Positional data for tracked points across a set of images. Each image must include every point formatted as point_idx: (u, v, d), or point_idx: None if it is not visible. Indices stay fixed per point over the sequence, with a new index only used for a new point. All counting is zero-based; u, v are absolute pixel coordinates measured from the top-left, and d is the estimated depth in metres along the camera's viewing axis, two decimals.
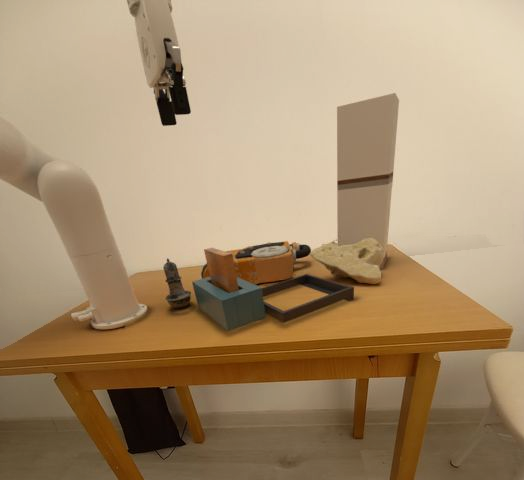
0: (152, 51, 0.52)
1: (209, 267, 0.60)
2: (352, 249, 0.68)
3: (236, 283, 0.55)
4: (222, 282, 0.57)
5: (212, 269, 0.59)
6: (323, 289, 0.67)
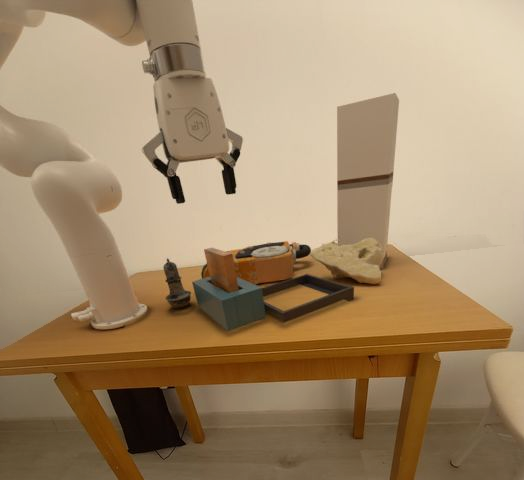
0: (220, 130, 0.47)
1: (209, 267, 0.60)
2: (352, 249, 0.68)
3: (236, 283, 0.55)
4: (222, 282, 0.57)
5: (212, 269, 0.59)
6: (323, 289, 0.67)
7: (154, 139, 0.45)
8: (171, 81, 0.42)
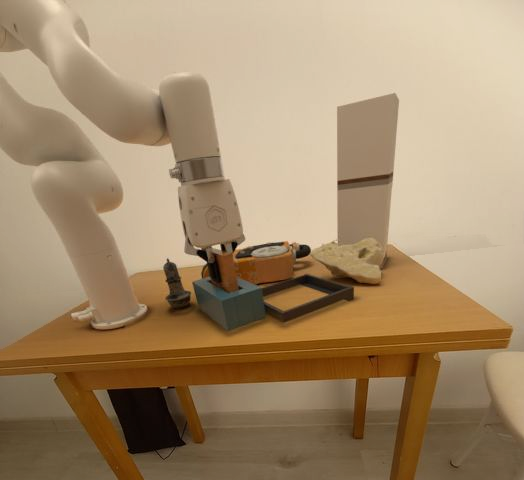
0: (236, 220, 0.53)
1: None
2: (352, 249, 0.68)
3: (236, 283, 0.55)
4: (222, 282, 0.57)
5: None
6: (323, 289, 0.67)
7: (188, 239, 0.52)
8: (194, 186, 0.48)
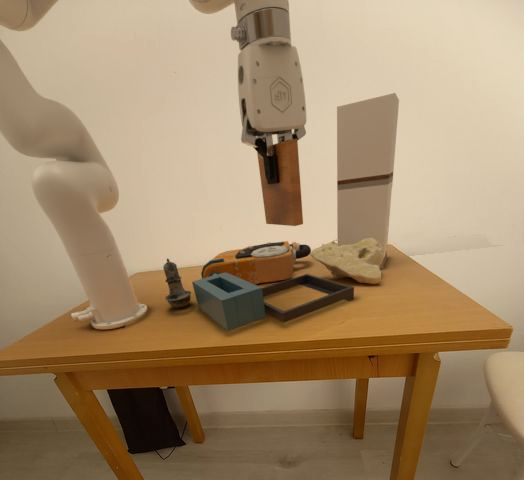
0: (300, 102, 0.46)
1: (262, 171, 0.54)
2: (352, 249, 0.68)
3: (298, 178, 0.49)
4: (279, 182, 0.51)
5: None
6: (323, 289, 0.67)
7: (247, 123, 0.46)
8: (260, 48, 0.41)
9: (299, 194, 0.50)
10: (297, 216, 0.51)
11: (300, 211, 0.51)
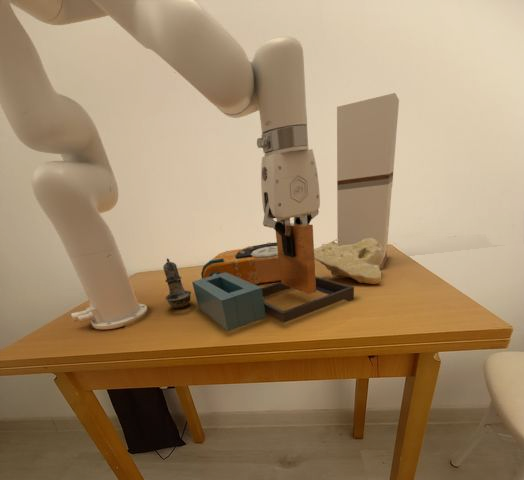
0: (315, 192, 0.53)
1: (279, 242, 0.61)
2: (352, 249, 0.68)
3: (313, 255, 0.55)
4: (295, 256, 0.57)
5: None
6: (323, 289, 0.67)
7: (269, 211, 0.52)
8: (282, 155, 0.48)
9: (313, 268, 0.56)
10: (311, 286, 0.58)
11: (314, 281, 0.58)
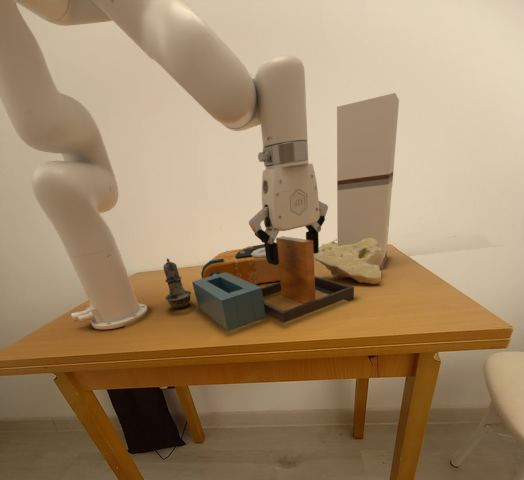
0: (314, 204, 0.54)
1: (280, 255, 0.62)
2: (352, 249, 0.68)
3: (313, 270, 0.57)
4: (296, 269, 0.59)
5: (284, 257, 0.61)
6: (323, 289, 0.67)
7: (261, 214, 0.52)
8: (283, 169, 0.49)
9: (313, 282, 0.58)
10: (311, 299, 0.59)
11: (313, 294, 0.59)
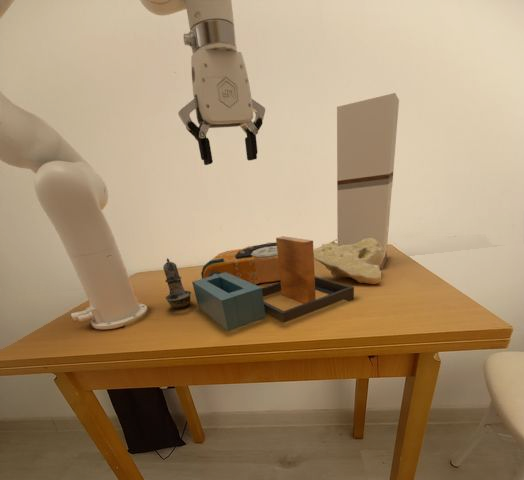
0: (246, 99, 0.54)
1: (280, 255, 0.62)
2: (352, 249, 0.68)
3: (313, 270, 0.57)
4: (296, 269, 0.59)
5: (284, 257, 0.61)
6: (323, 289, 0.67)
7: (189, 103, 0.52)
8: (208, 52, 0.49)
9: (313, 282, 0.58)
10: (311, 299, 0.59)
11: (313, 294, 0.59)
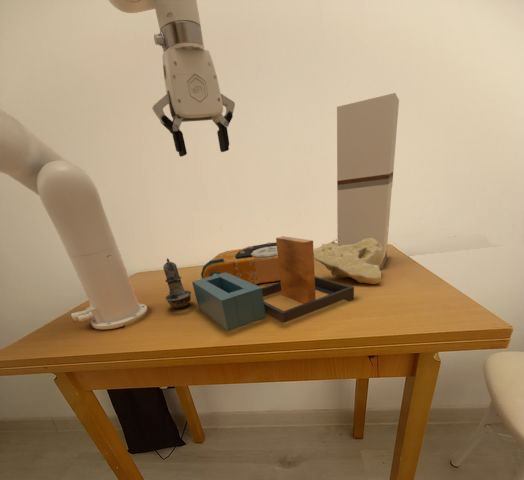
0: (216, 94, 0.58)
1: (280, 255, 0.62)
2: (352, 249, 0.68)
3: (313, 270, 0.57)
4: (296, 269, 0.59)
5: (284, 257, 0.61)
6: (323, 289, 0.67)
7: (162, 99, 0.56)
8: (177, 51, 0.53)
9: (313, 282, 0.58)
10: (311, 299, 0.59)
11: (313, 294, 0.59)
